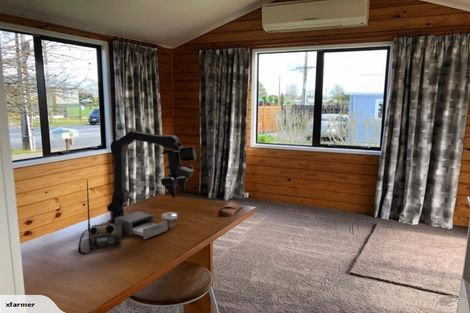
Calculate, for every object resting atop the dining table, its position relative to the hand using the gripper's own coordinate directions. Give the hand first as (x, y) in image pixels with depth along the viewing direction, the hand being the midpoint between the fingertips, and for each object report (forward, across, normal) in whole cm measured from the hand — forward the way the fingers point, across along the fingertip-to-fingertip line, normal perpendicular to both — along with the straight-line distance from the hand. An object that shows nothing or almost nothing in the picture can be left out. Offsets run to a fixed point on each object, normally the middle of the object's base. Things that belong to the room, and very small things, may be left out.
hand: (178, 195), depth 166 cm
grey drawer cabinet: (+12, -14, +17) cm, 25 cm away
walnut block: (+13, -6, +4) cm, 15 cm away
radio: (+12, -34, +19) cm, 41 cm away
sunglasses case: (+17, +25, -16) cm, 34 cm away
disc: (+9, -5, +3) cm, 11 cm away
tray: (+12, -17, +8) cm, 22 cm away
